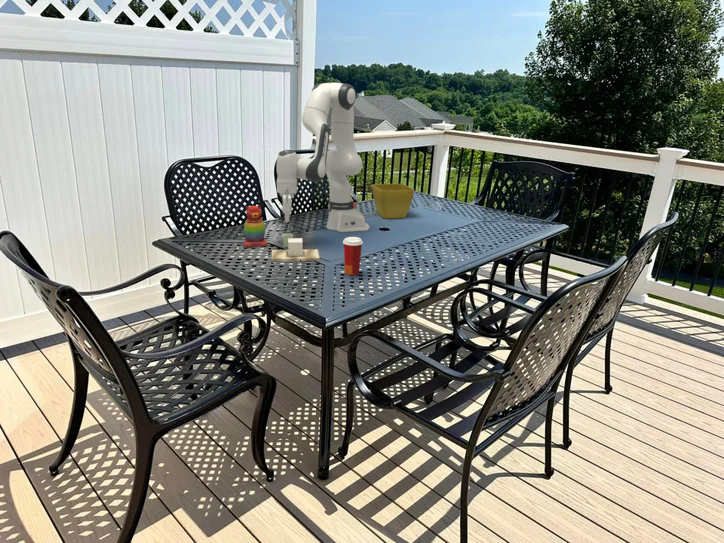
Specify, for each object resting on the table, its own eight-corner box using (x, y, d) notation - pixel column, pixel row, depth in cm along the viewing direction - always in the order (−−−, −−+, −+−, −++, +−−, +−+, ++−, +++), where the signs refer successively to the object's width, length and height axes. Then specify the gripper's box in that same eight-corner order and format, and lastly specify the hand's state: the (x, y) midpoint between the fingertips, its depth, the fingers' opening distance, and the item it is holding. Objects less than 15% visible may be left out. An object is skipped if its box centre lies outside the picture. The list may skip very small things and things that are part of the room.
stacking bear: (243, 247, 230) (241, 209, 224) (242, 241, 239) (240, 203, 233) (268, 246, 233) (266, 208, 227) (266, 240, 242) (264, 203, 236)
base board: (317, 251, 228) (317, 249, 228) (319, 260, 217) (319, 257, 216) (272, 252, 225) (272, 249, 225) (271, 261, 214) (271, 258, 214)
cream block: (302, 251, 224) (302, 238, 222) (302, 255, 218) (302, 242, 216) (288, 251, 223) (288, 238, 221) (288, 256, 217) (288, 242, 215)
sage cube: (293, 244, 237) (292, 233, 235) (293, 247, 233) (292, 236, 231) (283, 244, 236) (282, 233, 234) (283, 247, 232) (282, 236, 230)
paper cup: (361, 269, 209) (362, 236, 204) (361, 276, 201) (363, 242, 196) (342, 269, 208) (342, 236, 203) (342, 276, 201) (342, 241, 196)
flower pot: (370, 212, 300) (371, 184, 294) (400, 211, 305) (402, 183, 299) (381, 220, 283) (382, 190, 277) (412, 219, 288) (414, 189, 282)
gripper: (294, 193, 216) (294, 224, 221) (293, 184, 235) (293, 213, 240) (279, 192, 215) (279, 224, 220) (279, 183, 234) (280, 213, 239)
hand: (287, 218), depth 230 cm, fingers open, 8 cm apart
